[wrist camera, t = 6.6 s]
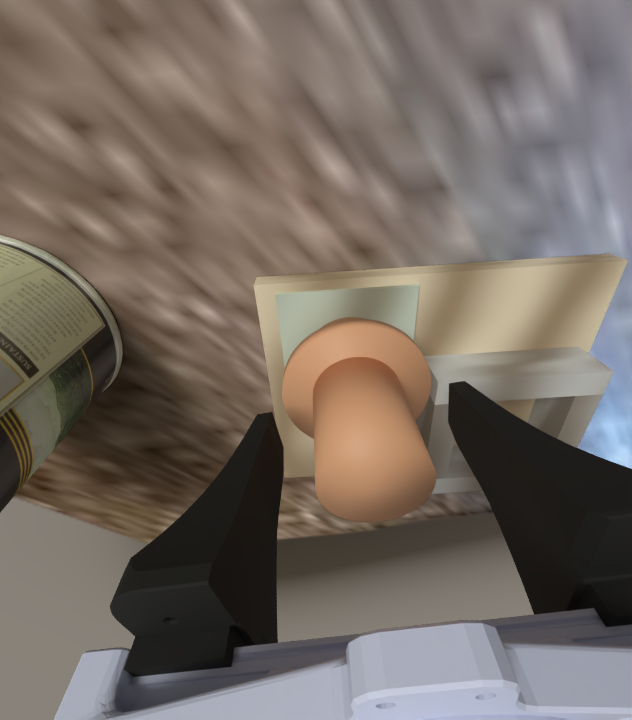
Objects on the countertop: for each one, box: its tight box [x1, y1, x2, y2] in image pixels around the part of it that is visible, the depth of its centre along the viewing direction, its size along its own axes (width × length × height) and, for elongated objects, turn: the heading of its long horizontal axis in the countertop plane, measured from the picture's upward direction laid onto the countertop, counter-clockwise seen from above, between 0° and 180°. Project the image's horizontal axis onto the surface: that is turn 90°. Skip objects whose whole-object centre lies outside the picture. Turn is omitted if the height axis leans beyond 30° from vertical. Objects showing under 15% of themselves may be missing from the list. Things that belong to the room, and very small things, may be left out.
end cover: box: [282, 317, 436, 522], centre depth 15 cm, size 7×7×8 cm
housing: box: [254, 254, 628, 494], centre depth 19 cm, size 18×14×4 cm
